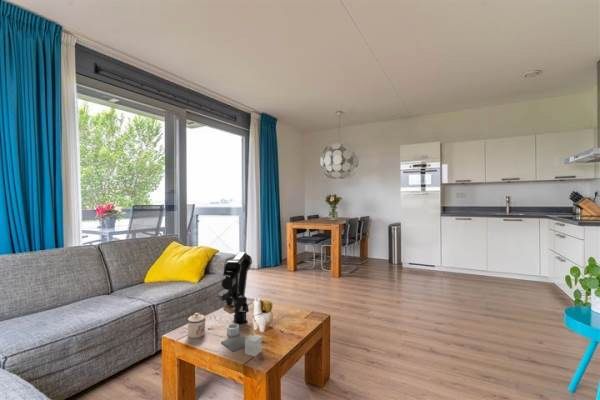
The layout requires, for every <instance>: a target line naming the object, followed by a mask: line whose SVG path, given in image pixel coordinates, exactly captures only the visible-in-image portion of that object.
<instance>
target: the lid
mask: <svg viewBox="0 0 600 400" xmlns="http://www.w3.org/2000/svg"><path fill="white" fill-rule="evenodd" d="M222 310H223V311H224V312H226V313H227V314H229V315H232V314H235V313H236V312H235V305H234V304H231V305H227V304H226V305H224V306H223V309H222ZM242 310H243V307H242V306H241V308H240V310H239V311H242Z"/></svg>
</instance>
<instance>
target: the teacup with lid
mask: <svg viewBox="0 0 600 400" xmlns="http://www.w3.org/2000/svg"><path fill="white" fill-rule="evenodd" d="M187 325H188V326H187V336H188V337H189V338H190V339H197V338H198V339H199V338H201V337H203V336H205V332H206V316H205V315H203V314H200V313H198V312H195V313H194V314H193V315H191V316H189V317H188V318H187Z"/></svg>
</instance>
